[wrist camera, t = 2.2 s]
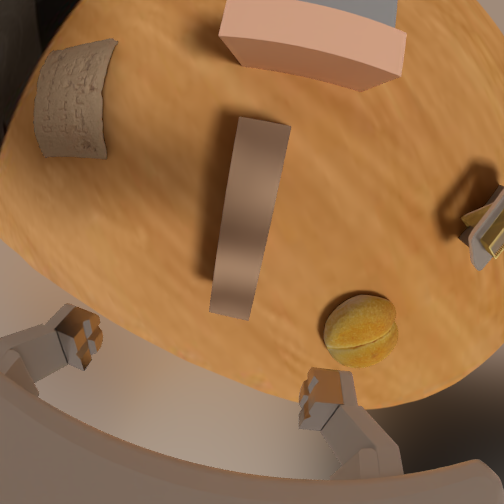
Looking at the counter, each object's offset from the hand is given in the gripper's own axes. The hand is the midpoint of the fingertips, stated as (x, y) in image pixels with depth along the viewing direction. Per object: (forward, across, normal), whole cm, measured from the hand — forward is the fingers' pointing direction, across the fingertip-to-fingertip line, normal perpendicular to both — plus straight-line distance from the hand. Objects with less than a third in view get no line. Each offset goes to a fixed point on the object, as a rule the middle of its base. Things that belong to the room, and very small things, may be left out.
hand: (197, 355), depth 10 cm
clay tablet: (+18, +20, -9) cm, 28 cm away
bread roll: (+18, -14, +10) cm, 25 cm away
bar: (+18, 0, 0) cm, 18 cm away
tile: (+17, -2, -14) cm, 22 cm away
